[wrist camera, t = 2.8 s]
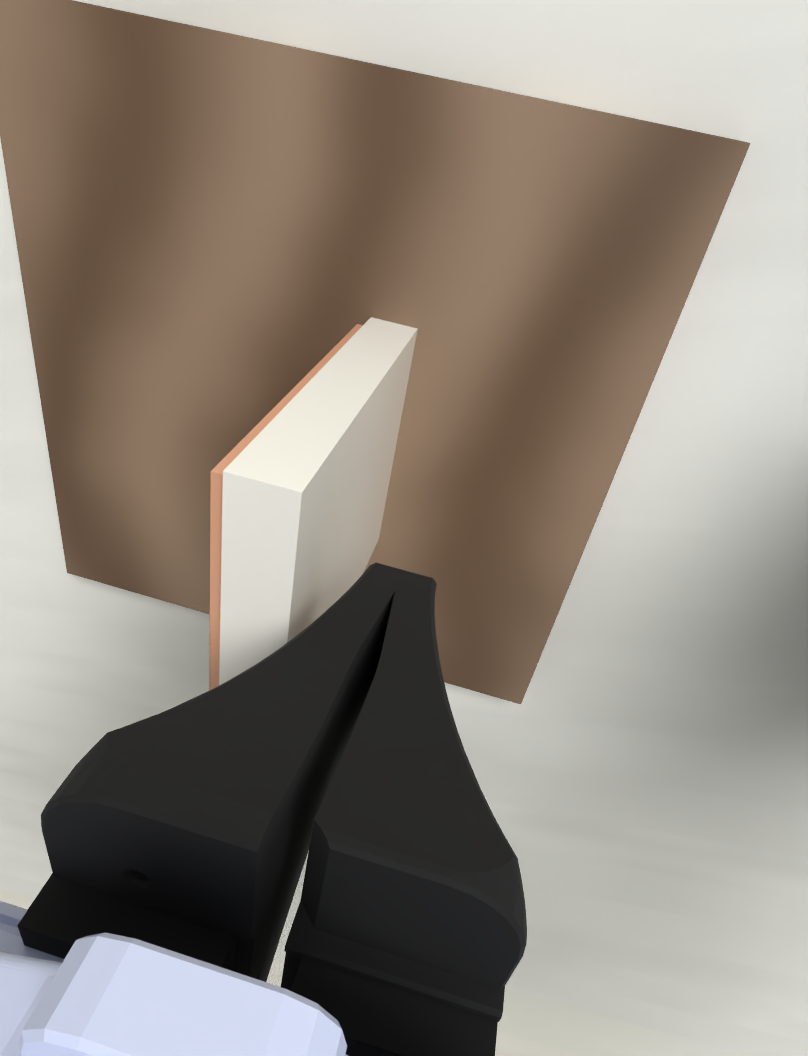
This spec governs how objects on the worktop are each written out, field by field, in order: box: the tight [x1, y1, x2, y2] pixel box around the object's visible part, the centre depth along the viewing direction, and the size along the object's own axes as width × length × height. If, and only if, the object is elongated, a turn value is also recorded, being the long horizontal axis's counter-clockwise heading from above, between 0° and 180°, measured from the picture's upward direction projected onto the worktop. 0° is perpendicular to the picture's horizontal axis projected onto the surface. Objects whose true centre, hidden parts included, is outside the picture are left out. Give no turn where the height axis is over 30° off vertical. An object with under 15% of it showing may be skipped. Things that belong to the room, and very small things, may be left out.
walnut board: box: [0, 0, 750, 704], centre depth 20 cm, size 18×18×1 cm
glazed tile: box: [209, 317, 418, 691], centre depth 16 cm, size 2×7×9 cm, turn 170°
